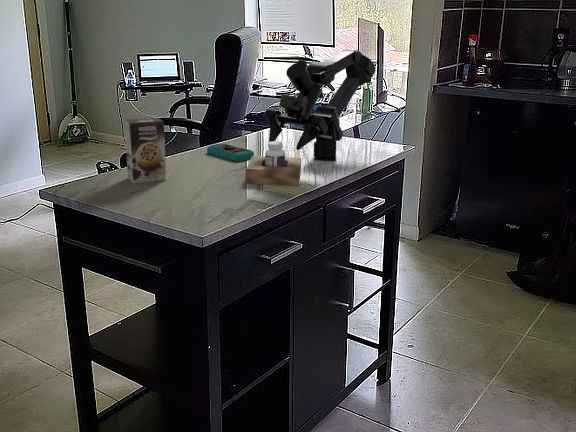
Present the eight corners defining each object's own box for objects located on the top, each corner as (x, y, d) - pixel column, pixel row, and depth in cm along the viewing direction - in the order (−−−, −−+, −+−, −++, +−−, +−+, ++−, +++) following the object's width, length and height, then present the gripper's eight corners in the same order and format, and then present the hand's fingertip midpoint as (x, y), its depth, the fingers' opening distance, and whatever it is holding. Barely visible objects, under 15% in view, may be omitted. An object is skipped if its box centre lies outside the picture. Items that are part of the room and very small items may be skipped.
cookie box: (133, 184, 167) (129, 123, 162) (127, 178, 173) (123, 118, 167) (167, 180, 171) (164, 120, 166) (160, 174, 177) (157, 116, 171)
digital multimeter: (223, 150, 206) (222, 141, 205) (255, 159, 196) (255, 149, 195) (205, 154, 201) (205, 145, 200) (237, 163, 191) (237, 153, 190)
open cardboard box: (300, 171, 182) (301, 157, 181) (298, 185, 169) (299, 170, 168) (252, 169, 183) (252, 156, 182) (246, 183, 170) (246, 169, 169)
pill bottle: (284, 174, 179) (284, 140, 176) (285, 179, 174) (286, 145, 171) (264, 174, 179) (264, 140, 175) (265, 180, 174) (265, 145, 170)
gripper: (267, 80, 180) (243, 125, 175) (323, 86, 170) (300, 135, 165) (282, 104, 189) (260, 147, 184) (337, 111, 179) (315, 158, 174)
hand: (283, 146), depth 177 cm, fingers open, 9 cm apart
